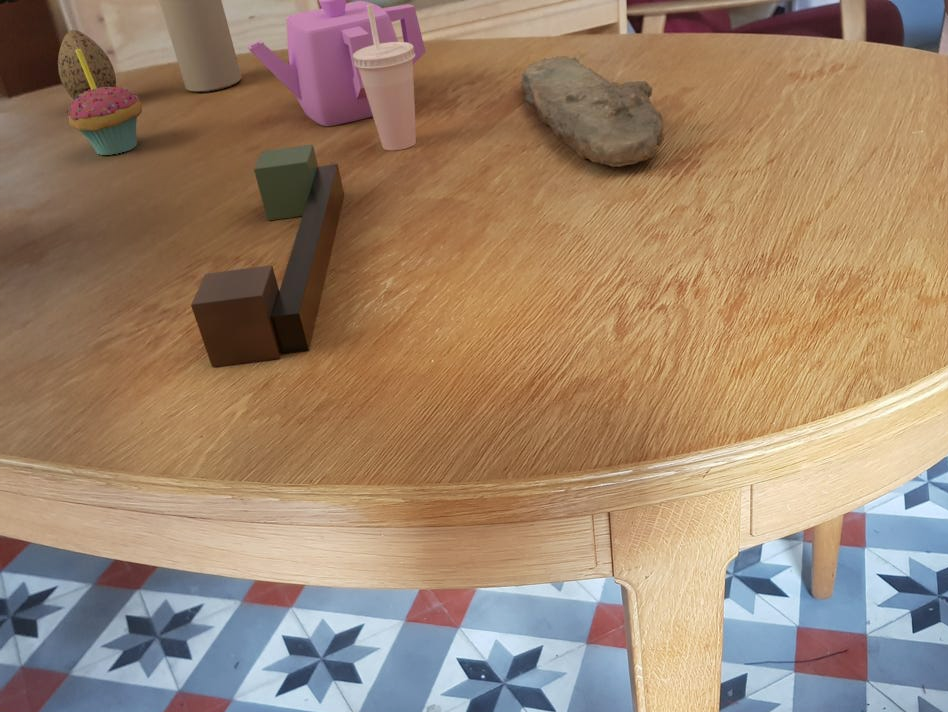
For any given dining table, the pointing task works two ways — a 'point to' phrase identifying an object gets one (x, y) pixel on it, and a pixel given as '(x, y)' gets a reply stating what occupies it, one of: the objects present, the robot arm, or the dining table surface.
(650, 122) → the long grey stone
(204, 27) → the travel mug
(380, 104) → the smoothie
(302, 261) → the rail
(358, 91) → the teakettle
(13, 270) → the dining table surface
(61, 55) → the decorative egg
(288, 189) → the green block
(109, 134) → the cupcake
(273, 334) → the walnut block
